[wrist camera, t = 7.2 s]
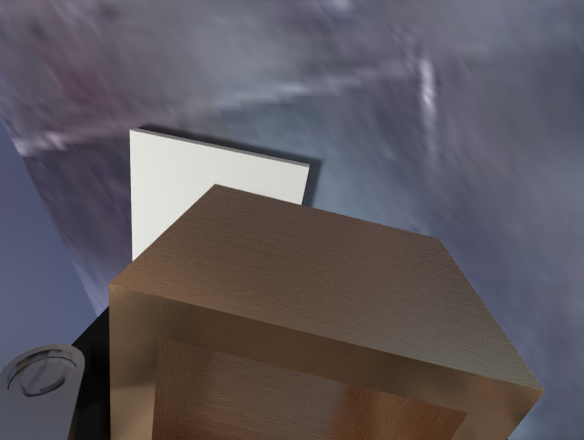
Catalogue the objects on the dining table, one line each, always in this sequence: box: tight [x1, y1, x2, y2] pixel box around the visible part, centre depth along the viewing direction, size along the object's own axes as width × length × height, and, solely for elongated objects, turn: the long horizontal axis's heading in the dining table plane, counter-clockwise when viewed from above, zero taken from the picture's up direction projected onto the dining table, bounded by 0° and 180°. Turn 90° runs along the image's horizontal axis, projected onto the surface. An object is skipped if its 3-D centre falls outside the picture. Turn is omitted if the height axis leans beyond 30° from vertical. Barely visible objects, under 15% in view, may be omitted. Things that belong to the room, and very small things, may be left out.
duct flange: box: [130, 128, 310, 261], centre depth 26 cm, size 14×14×5 cm
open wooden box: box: [109, 184, 545, 440], centre depth 8 cm, size 7×7×5 cm
